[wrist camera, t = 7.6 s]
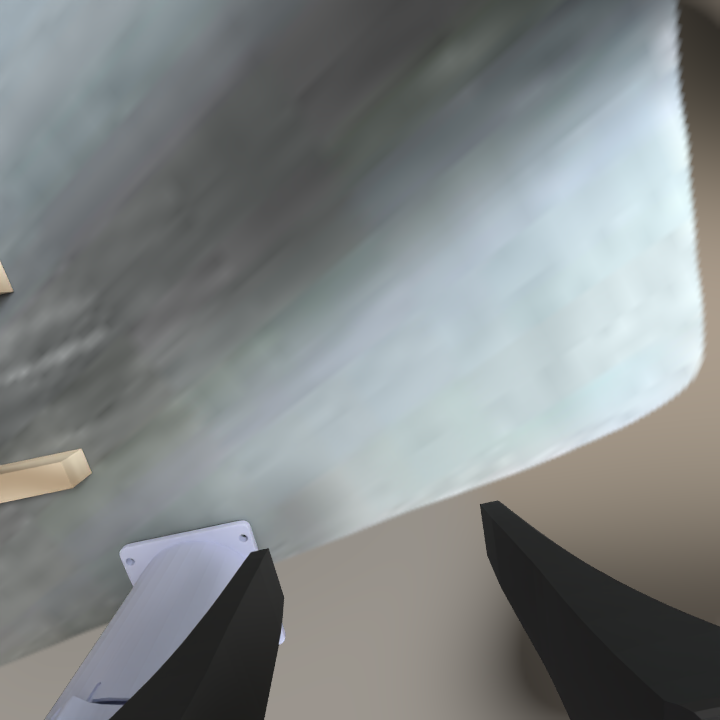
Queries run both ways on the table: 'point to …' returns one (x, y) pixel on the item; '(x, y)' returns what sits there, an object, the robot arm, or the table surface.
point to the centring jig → (40, 462)
